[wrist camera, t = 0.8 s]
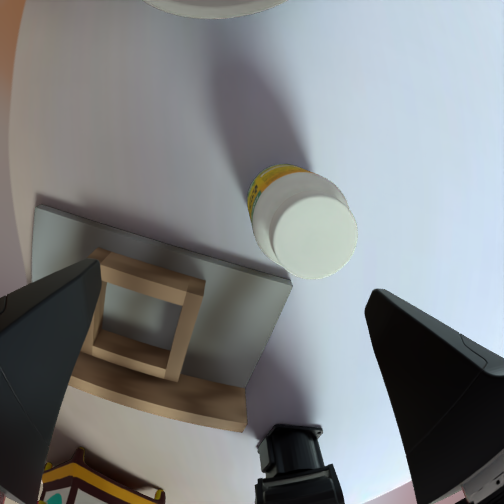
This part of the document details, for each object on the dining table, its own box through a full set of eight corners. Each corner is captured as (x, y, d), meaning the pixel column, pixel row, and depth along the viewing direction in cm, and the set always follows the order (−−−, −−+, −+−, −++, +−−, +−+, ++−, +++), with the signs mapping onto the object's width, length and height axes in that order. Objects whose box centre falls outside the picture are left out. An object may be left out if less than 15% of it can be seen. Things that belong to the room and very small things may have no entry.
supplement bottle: (322, 225, 23) (374, 280, 14) (254, 240, 23) (269, 306, 14) (311, 156, 21) (366, 171, 12) (239, 170, 21) (245, 194, 12)
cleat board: (290, 280, 25) (305, 317, 20) (237, 395, 29) (239, 436, 24) (41, 204, 21) (3, 222, 16) (39, 333, 25) (15, 365, 20)
